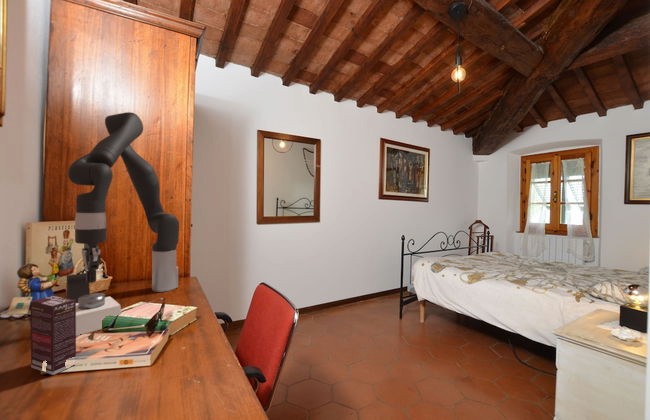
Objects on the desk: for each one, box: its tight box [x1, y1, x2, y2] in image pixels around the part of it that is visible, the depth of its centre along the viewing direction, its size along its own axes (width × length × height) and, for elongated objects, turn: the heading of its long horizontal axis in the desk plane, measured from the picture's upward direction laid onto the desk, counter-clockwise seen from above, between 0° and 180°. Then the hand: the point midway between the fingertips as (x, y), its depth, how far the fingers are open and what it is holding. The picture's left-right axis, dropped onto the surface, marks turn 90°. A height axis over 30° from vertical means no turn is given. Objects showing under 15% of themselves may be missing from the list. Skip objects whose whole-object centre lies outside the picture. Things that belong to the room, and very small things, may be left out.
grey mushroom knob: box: [78, 292, 106, 310], centre depth 88 cm, size 6×6×8 cm
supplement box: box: [29, 295, 77, 376], centre depth 66 cm, size 9×5×16 cm, turn 71°
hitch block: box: [76, 296, 122, 337], centre depth 88 cm, size 12×12×6 cm
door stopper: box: [66, 272, 91, 303], centre depth 102 cm, size 9×6×12 cm, turn 45°
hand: (91, 282), depth 88 cm, fingers closed
